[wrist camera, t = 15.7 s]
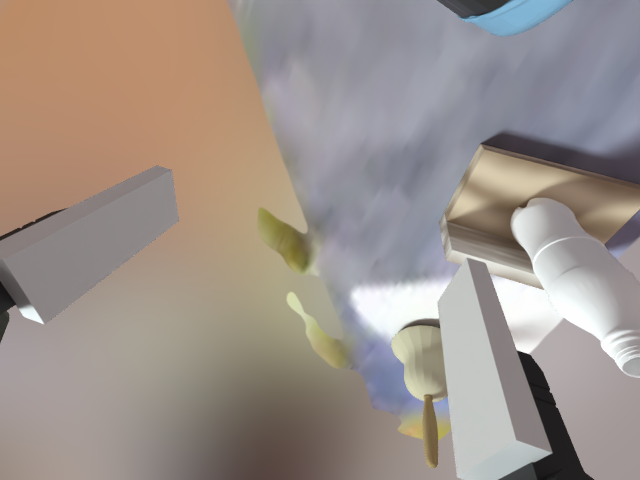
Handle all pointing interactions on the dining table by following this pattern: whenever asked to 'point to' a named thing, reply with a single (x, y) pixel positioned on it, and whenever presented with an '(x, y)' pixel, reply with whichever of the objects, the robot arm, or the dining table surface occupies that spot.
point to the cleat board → (516, 191)
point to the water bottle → (582, 278)
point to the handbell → (424, 377)
